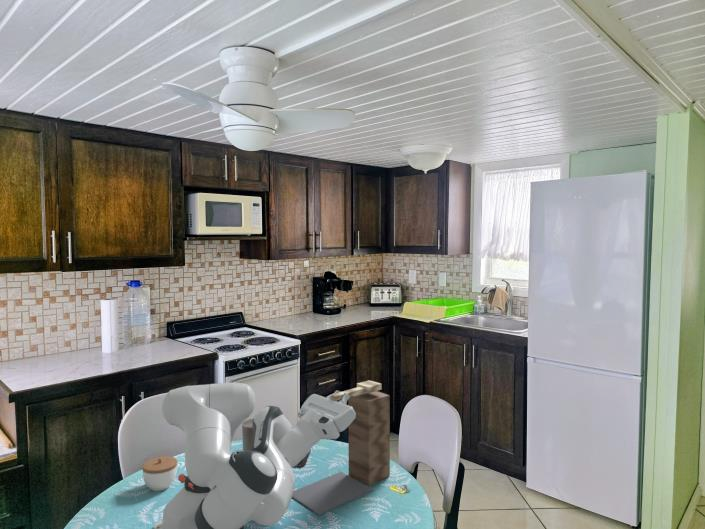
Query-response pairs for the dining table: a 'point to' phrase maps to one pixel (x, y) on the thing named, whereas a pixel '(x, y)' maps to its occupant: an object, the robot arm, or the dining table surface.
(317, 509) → the rubber mat
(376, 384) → the beech spatula
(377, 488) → the dining table surface
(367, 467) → the walnut stand
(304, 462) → the phone
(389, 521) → the dining table surface
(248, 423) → the pillar candle
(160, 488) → the lidded jar
